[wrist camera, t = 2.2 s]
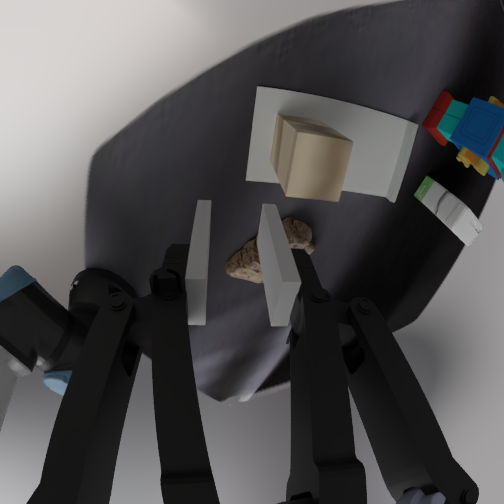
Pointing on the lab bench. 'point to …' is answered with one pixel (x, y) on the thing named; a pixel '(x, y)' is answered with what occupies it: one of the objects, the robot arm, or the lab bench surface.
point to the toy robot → (471, 131)
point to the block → (309, 157)
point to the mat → (348, 124)
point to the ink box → (449, 210)
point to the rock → (248, 259)
